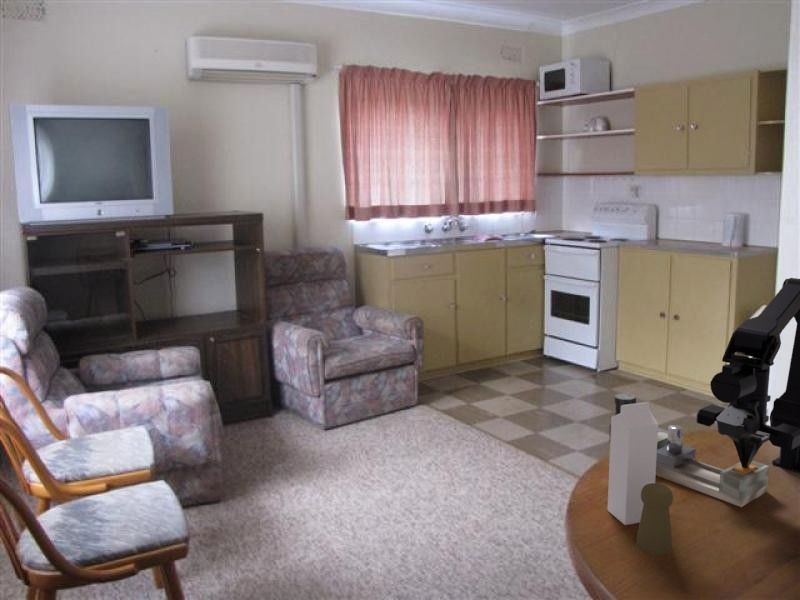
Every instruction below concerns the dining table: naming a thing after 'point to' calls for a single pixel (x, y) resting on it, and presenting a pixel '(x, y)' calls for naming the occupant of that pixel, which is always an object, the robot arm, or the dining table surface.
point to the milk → (631, 460)
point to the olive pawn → (655, 520)
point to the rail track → (716, 478)
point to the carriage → (675, 449)
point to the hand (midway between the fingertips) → (745, 467)
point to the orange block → (745, 469)
